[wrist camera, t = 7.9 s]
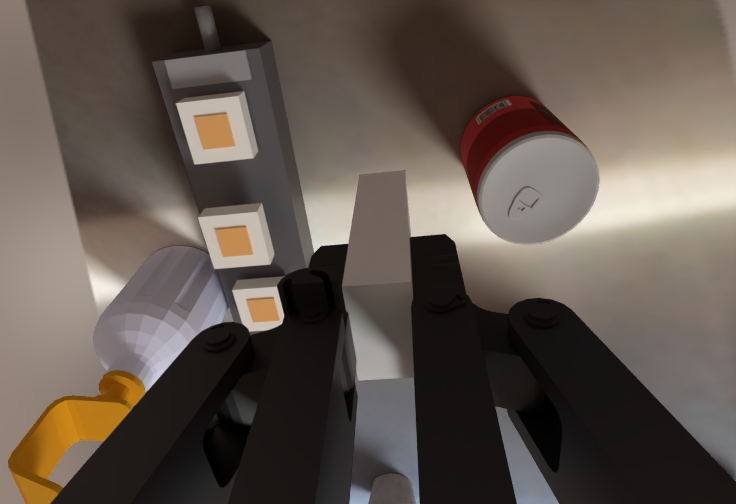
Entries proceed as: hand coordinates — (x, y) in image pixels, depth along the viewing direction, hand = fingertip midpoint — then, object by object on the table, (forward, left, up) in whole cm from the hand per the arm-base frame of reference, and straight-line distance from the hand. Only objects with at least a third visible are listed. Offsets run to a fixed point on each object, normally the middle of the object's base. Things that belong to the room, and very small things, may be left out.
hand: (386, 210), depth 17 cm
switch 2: (+10, -13, -24) cm, 29 cm away
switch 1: (+2, -13, -26) cm, 29 cm away
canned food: (+7, +9, -27) cm, 29 cm away
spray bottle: (+18, -22, -27) cm, 39 cm away
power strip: (+9, -13, -26) cm, 31 cm away
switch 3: (+18, -13, -26) cm, 34 cm away
